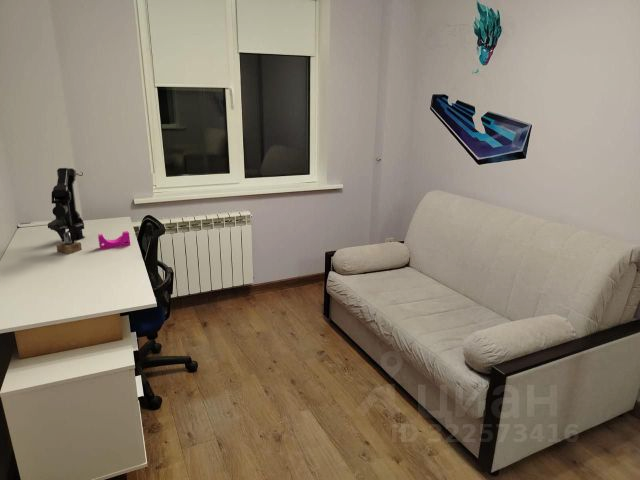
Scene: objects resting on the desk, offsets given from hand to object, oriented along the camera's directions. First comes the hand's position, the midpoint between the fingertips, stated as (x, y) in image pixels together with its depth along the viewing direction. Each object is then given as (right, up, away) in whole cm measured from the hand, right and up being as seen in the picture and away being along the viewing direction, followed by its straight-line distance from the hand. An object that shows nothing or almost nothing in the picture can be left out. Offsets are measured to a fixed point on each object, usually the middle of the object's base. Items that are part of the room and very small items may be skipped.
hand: (68, 241), depth 232 cm
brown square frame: (0, -5, +1) cm, 5 cm away
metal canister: (0, -5, +1) cm, 5 cm away
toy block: (+19, -3, +11) cm, 22 cm away
